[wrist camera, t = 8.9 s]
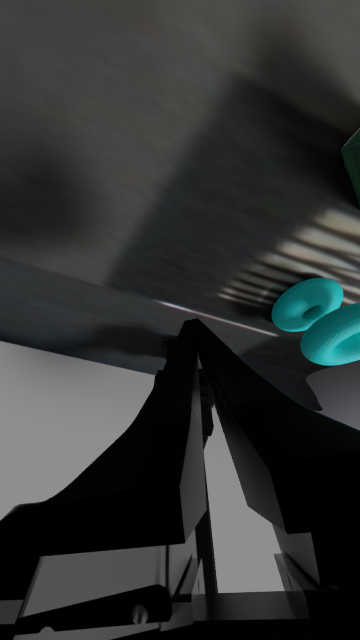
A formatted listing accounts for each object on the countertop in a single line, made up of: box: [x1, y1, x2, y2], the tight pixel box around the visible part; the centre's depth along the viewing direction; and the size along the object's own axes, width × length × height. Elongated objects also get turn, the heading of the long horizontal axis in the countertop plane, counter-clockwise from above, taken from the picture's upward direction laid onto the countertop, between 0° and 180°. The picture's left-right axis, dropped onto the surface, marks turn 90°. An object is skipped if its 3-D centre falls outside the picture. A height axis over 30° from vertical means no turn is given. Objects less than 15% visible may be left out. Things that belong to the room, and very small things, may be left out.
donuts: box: [271, 278, 360, 365], centre depth 20 cm, size 10×10×10 cm
